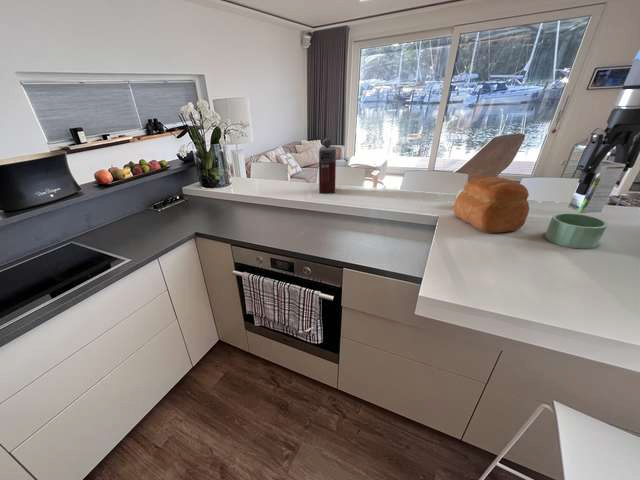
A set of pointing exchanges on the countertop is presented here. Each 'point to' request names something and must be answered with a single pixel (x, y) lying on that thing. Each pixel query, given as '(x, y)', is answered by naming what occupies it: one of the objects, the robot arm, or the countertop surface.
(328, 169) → the glass liquor decanter
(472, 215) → the bread
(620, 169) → the syrup box
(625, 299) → the countertop surface
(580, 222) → the crock
